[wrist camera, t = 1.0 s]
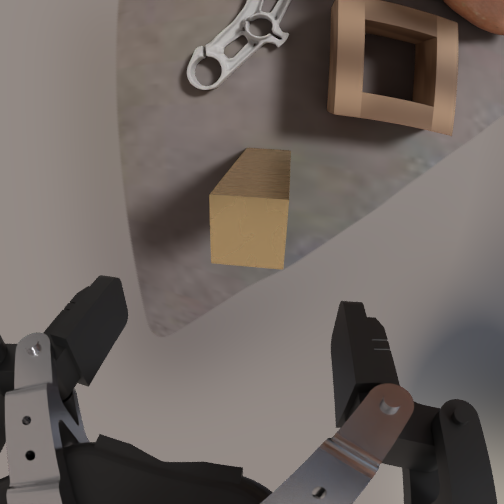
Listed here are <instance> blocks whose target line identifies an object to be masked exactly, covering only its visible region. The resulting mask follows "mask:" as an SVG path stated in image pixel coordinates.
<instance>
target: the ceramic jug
mask: <svg viewBox="0 0 504 504" xmlns="http://www.w3.org/2000/svg"><path fill="white" fill-rule="evenodd" d="M443 1H444V2H445V3H446V4H447V5H448V6H449V7H450V8H451V9H452V10H454V11H455V12H456V13H457V14H459V15H460V16H462V17H463V18H465V19H466V20H467V21H469V22H470V23H472V24H473V25H475V26H477V27H478V28H481V29H483V30H485V31H488V32H491V33H494V34H498V35H504V0H443Z"/></svg>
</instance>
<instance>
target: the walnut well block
mask: <svg viewBox="0 0 504 504" xmlns="http://www.w3.org/2000/svg"><path fill="white" fill-rule="evenodd" d="M365 33H367V34H373V35H378V36H383V37H387V38H392V39H396V40H401V41H405V42H409V43H413V44H415V69H414V86H413V99H412V102H411V101H407V100H402V99H397V98H392V97H387V96H382V95H376V94H370V93H364V92H362V87H363V69H364V43H365ZM457 75H458V23H456V22H454V21H451V20H448V19H445V18H443V17H440V16H437V15H434V14H430V13H427V12H424V11H421V10H417V9H414V8H410V7H406V6H403V5H399V4H395V3H391V2H386V1H382V0H335V1H334V3H333V5H332V8H331V34H330V63H329V84H328V101H327V111H328V112H330V113H332V114H336V115H344V116H351V117H358V118H365V119H372V120H378V121H384V122H389V123H395V124H400V125H405V126H410V127H415V128H420V129H424V130H429V131H433V132H437V133H442V134H446V135H450V136H452V131H453V123H454V114H455V104H456V91H457Z"/></svg>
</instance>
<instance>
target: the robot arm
mask: <svg viewBox="0 0 504 504" xmlns="http://www.w3.org/2000/svg"><path fill="white" fill-rule="evenodd" d="M127 319H128V309H127V305H126V301H125V297H124V292H123V288H122V283H121V281H120V279H119V278H115V277H109V276H99V277H98V278H97V279H96V280H95V281H94V282H93V283H92V285H91V286H90V287H89V286H88V287H86V288H85V289H83V290H82V291H80V292H78V293H77V294H76V295H75V296H74V298H73V299H72V300H71V301H70V303H68V304H67V306H66V307H65V308H64V310H62V311H61V312H60V314H59V315H58V316H57V317H56V318H55V320H54V321H53V322H52V323H51V324H50V326H49V327H48V328H47V329H46V330H45V332H44V333H32V334H29V335H27V336H25V337H24V338H22V339H21V340H20V342H19V343H18V344H5V343H4V341H3V340H2V338H1V336H0V452H1V450H2V448H3V446H4V444H5V442H6V448H7V459H8V469H9V476H6V477H4V478H2V479H0V504H353V502H354V501H355V500H356V499H357V497H358V496H359V495H360V493H361V492H362V491H363V490H364V488H365V487H366V486H367V484H368V483H369V482H370V480H371V479H372V478H373V476H374V475H375V473H376V472H377V470H378V468H379V465H380V464H381V463H384V464H389V465H393V466H397V467H402V471H403V486H404V488H403V489H404V504H497V499H496V492H495V486H494V480H493V475H492V470H491V465H490V460H489V456H488V451H487V447H486V443H485V439H484V435H483V431H482V427H481V424H480V420H479V417H478V414H477V412H476V410H475V409H474V407H473V406H472V405H471V404H469V403H467V402H466V401H463V400H459V399H454V400H449V401H447V402H446V403H445V404H444V405H443V406H442V407H441V409H440V408H435V407H430V406H425V405H422V404H418V403H416V402H414V401H413V399H412V396H411V395H410V393H409V392H408V391H407V390H405V389H404V388H403V387H401V386H400V385H399V381H398V377H397V373H396V369H395V365H394V361H393V357H392V354H391V351H390V347H389V343H388V341H387V336H386V333H385V329H384V327H383V326H382V325H381V324H380V322H379V321H378V320H377V319H376V318H370V317H366V313H365V309H364V305H363V303H362V302H347V301H341V302H340V305H339V309H338V313H337V317H336V321H335V326H334V330H333V334H332V339H331V358H332V371H333V384H334V399H335V417H336V427H337V428H339V427H340V430H339V431H338V432H337V433H336V434H335V435H334V436H333V437H332V438H328V439H327V440H326V441H325V442H324V443H323V444H322V445H321V446H320V447H319V448H318V449H317V450H316V451H315V452H314V453H313V454H312V455H311V456H310V457H309V458H308V459H307V460H306V461H305V462H304V463H303V464H302V465H301V466H300V467H299V468H298V469H297V470H296V471H295V472H294V473H293V474H292V475H291V476H290V477H289V478H288V479H287V480H286V481H285V482H284V483H283V484H282V485H281V486H279V487H278V488H277V489H276V490H275V491H274V492H271V491H270V490H269V489H268V488H266V487H265V486H263V485H261V484H260V483H257V482H256V481H254V480H252V479H249V478H246V477H243V468H241V467H234V466H227V465H220V464H213V463H208V462H163V461H160V460H158V459H156V458H155V457H153V456H151V455H149V454H147V453H145V452H143V451H142V450H140V449H138V448H136V447H135V446H133V445H131V444H129V443H125V442H122V441H119V440H116V439H113V438H110V437H107V436H104V435H101V434H100V435H99V437H98V439H97V441H96V442H89V440H88V438H87V436H86V433H85V430H84V426H83V422H82V417H81V413H80V408H79V403H78V398H77V393H76V390H75V388H74V387H75V386H76V384H77V383H79V384H82V385H86V386H89V385H90V383H91V382H92V380H93V378H94V376H95V375H96V373H97V371H98V370H99V368H100V366H101V365H102V363H103V361H104V360H105V358H106V356H107V355H108V353H109V351H110V350H111V348H112V346H113V345H114V343H115V341H116V340H117V338H118V337H119V335H120V333H121V332H122V330H123V329H124V327H125V325H126V323H127Z"/></svg>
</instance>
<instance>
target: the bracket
mask: <svg viewBox="0 0 504 504" xmlns="http://www.w3.org/2000/svg"><path fill="white" fill-rule="evenodd" d="M263 1H264V0H247V1H246V4H245V6H244V8H243V9H242V10H241V12H240V13H239V14H238V15H237V17H236V18H235V19H234V21H233V22H232V23H231V24H230V25H229V26H227V27H226V28H225V29H224V30H223V31H221V32H220V33H219V34H218V35H217V36H216V37H215V38H214V39H213V40H212V41H211V42H210V43H208V44H206V52H205V48H204V47H203V46H200V47H197V48H196V49H195V51H194V53H193V56H192V58H191V60H190V62H189V65H188V68H187V77H188V80H189V82H190V83H191V84H192V85H193V86H194V87H196V88H198V89H201V90H211V89H215V88H218V87H219V86H220V85H221V84H222V83H223V82H224V81H225V80H226V79H228V78H229V77H230V76H231V74H232V73H233V72H234V71H235V70H236V69H238V68H239V67H240V66H241V65H242V64H243V63H244V62H245V61H246V60H247V59H248V58H250V57H251V56H252V55H253V54H254V53H255V52H256V51H257V50H258V49H259V48H260V47H262V46H263V45H264V44H266V43H271V44H275V45H276V46H277V47H280V46H281V45H282V44H283V43H284V42H285V41H286V39H287V38H288V35H289V33H284V32H282V31H281V29H280V27H279V24H280V22H281V20H282V18H283V16H284V14H285V12H286V10H287V8H288V6H289V4H290V2H291V0H278V2H277V4H276V5H275V7H274V9H273V10H272V12H270V13H267V12H262V11H261V8H262V4H263ZM255 12H256V14H254V13H255ZM275 16H277V18H275ZM258 18H264V19H267V20H269V21H270V22H271V23H272V32H273V34H275V35H277V36H279V37H280V38H282V39H281V40H279V39H277V38H275V37H274V36H272V35H271V34H267V35H265V36H262V37H258V36H254V35H252V34H251V33H250V32H249V26H250V24H249V21H254V20H255V19H258ZM243 27H244V28H245V31H241V30H242V28H243ZM242 35H244V36H245V37H246V38H247V40H248V43H247V44H246V45H245V46H244V47H243V48H242V49H241V50H240V51H239V52H238V53H237V54H236V55H235V56H234V57H233V58H227V57H226V56H225V55H224V48H225V47H226V46H227V45H228V44H230V43H231V42H233V41H234V40H236V39H237V38H238V37H240V36H242ZM254 43H256V44H257V45H256V46H255V47H254V46H253V45H254ZM206 55H207V56H208V57H212V58H215V59H217V60H218V62H219V63H220V65H221V69H222V72H221V76H220V78H219V79H218V81H217V82H215V83H214V84H213V85H210V86H203V85H201V84H200V83H199V82H198V81H197V79H196V77H195V68H196V65H197V64H198V63H199V62H200V61H201V60H202V59H204V58H206Z"/></svg>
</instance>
